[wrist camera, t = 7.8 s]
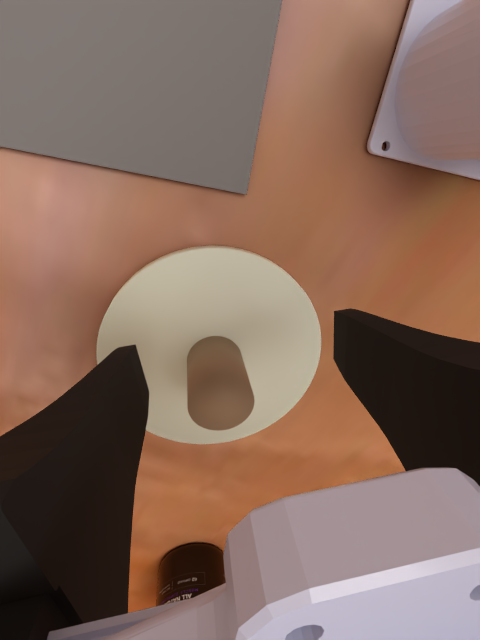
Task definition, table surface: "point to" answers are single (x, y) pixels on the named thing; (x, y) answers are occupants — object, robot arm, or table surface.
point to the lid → (215, 341)
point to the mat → (139, 84)
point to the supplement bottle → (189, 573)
